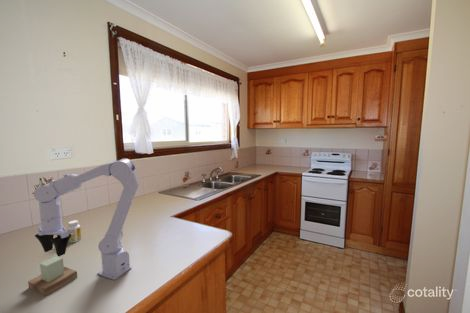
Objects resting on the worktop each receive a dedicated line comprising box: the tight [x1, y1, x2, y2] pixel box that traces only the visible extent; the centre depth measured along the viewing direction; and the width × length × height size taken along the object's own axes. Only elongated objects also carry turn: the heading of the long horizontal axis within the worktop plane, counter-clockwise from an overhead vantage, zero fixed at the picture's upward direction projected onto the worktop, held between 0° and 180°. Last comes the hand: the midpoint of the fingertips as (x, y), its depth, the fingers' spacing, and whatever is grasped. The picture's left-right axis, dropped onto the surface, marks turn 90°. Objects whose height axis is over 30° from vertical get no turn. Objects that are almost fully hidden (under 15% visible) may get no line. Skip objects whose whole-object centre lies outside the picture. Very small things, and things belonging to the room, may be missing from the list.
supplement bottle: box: [66, 219, 82, 243], centre depth 109 cm, size 5×5×10 cm
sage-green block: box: [39, 255, 65, 282], centre depth 78 cm, size 4×5×6 cm
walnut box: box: [27, 266, 78, 296], centre depth 79 cm, size 10×10×3 cm
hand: (55, 252), depth 79 cm, fingers open, 7 cm apart
